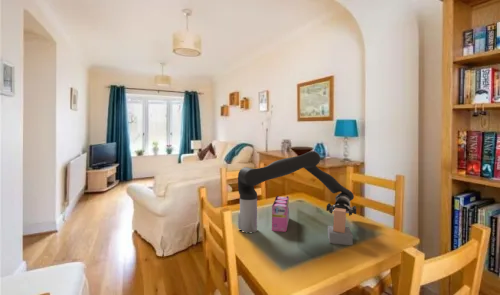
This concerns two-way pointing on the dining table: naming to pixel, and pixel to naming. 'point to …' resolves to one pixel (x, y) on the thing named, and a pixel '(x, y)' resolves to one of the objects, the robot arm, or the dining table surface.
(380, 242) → the dining table surface
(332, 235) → the grey base block
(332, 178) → the robot arm
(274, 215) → the gum box
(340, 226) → the terracotta block
